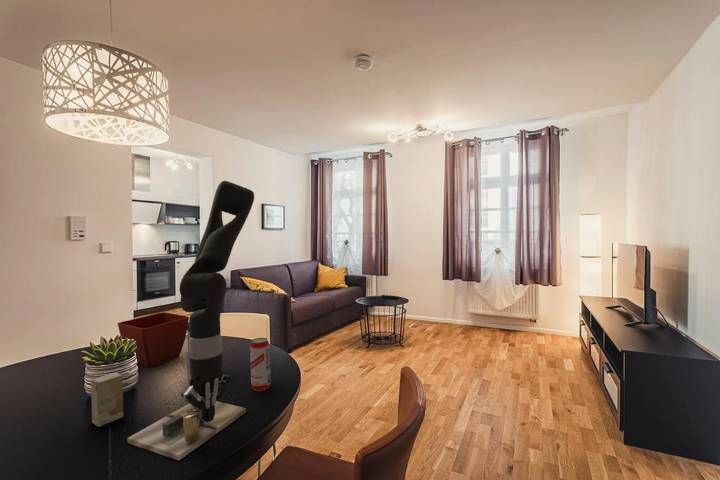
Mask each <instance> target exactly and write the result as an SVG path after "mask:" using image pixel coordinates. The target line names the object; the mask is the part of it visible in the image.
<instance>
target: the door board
mask: <svg viewBox="0 0 720 480" xmlns="http://www.w3.org/2000/svg"><path fill="white" fill-rule="evenodd" d="M196 399H197V400H199V398H198V397H197V398H196ZM192 408H195V407H193V406H192V405H191V404H190V403H188V404H185V405H184V406H182V407H181V408H179V409H177V410H175V411H173V412H172V413H167V414H166V415H165V416H164V417H163V418H161V419H158V420H157V421H155V422H154V423H152V424H150V425H149V426H147V427H145V428H143V429H141V430H139V431H138V432H136V433H134V434H132V435H130V436H129V437H127V438H126V439H127V443H128V444H130V445H131V446H132V445H133V446H135V447H137V448H142V449H144V450H148V451H150V452H153V453H155V454H158V455H162V456H164V457H167V458H170V459H173V460H177V461H178V462H179V461H181V460H182V459H184V457H186V456H188V455H189V454H190V453H191V452H193V451H194V450H196V449H197V448H198V447H200V446H201V445H203V444H204V443H205V442H207V441H208V440H210V439H211V438H213V437H214V436H215V435H216V434H218V433H220V432H221V431H222V430H224V429H225V428H226V427H228V426H229V425H230V424H232V423H233V422H235V421H236V420H237V419H239V418H240V417H241V416H244V415H245V414H246V413H247V408H246V407H242V406H240V405H234V404H230V403H225V402H220V401H218V400H217V401H216V404H215V416H214V419H213V420H212V421H210V422H208V423H207V422H205V421H203V422H202V423H200V427H199V438H198V439H196V440H195V441H192V442H186V441H185V437H184V416H185V415H186V414H187V411H188V410H190V409H192Z"/></svg>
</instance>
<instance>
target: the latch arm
mask: <svg viewBox="0 0 720 480" xmlns="http://www.w3.org/2000/svg"><path fill="white" fill-rule="evenodd" d="M203 421H204V420H202V418H201V409H198V408H192V409H190V410H188V411H187V414H186V415H185V416H184V437H185V441H186V442H192V441H195V440H196V439H198V438H199V427H200V423H202V422H203Z"/></svg>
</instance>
